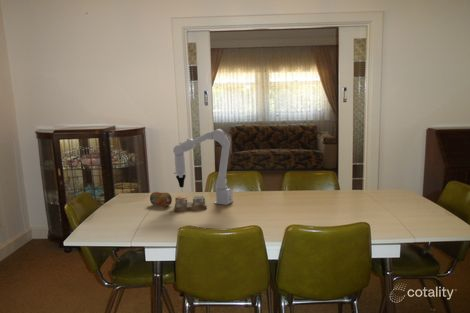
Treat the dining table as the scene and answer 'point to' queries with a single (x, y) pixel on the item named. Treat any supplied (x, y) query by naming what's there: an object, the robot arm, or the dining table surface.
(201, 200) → the press board
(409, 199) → the dining table surface
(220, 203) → the robot arm
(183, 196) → the terracotta plunger
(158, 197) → the tin
